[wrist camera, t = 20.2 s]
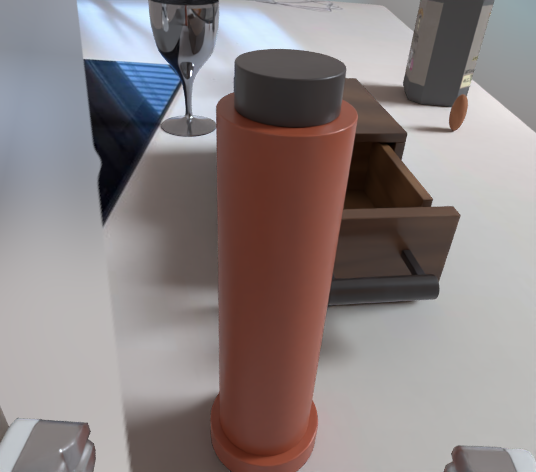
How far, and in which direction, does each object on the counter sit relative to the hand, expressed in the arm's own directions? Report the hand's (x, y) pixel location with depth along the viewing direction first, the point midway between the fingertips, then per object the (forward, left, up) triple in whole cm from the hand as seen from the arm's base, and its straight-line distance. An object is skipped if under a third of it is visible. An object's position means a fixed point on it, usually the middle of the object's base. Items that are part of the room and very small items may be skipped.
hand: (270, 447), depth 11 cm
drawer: (+10, +24, -13) cm, 29 cm away
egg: (+34, +53, -14) cm, 64 cm away
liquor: (+37, +67, -14) cm, 77 cm away
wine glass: (-2, +55, -14) cm, 57 cm away
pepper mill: (+2, +10, -14) cm, 17 cm away
